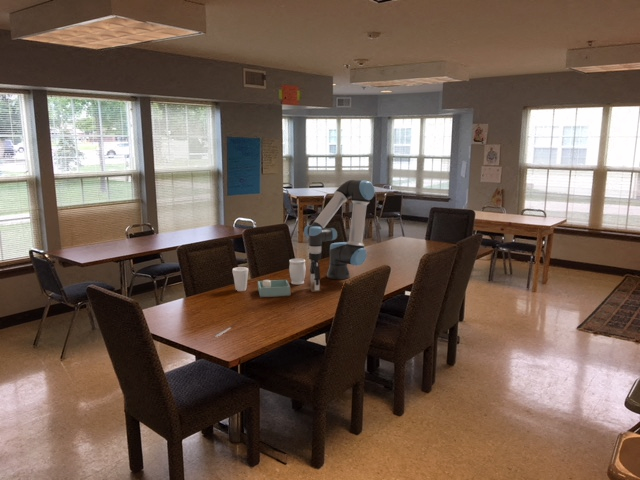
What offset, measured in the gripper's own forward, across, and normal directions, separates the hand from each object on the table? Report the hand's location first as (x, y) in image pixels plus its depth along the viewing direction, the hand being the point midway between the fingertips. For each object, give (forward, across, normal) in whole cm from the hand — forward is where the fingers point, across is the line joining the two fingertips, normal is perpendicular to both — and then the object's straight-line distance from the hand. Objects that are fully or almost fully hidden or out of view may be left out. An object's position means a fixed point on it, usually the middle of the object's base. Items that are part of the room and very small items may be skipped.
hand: (314, 287), depth 306 cm
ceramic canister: (+2, -1, -29) cm, 29 cm away
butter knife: (+4, +53, -51) cm, 74 cm away
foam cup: (+3, -11, -44) cm, 45 cm away
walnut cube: (+2, 0, 0) cm, 2 cm away
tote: (+3, -1, -25) cm, 25 cm away
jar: (+2, -19, -8) cm, 21 cm away
